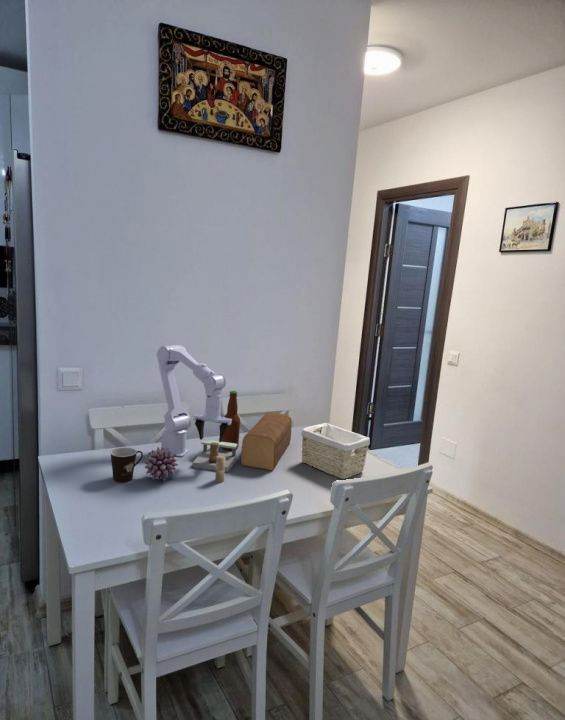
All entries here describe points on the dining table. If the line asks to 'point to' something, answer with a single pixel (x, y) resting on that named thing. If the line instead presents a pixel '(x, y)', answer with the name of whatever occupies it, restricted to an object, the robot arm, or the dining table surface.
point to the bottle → (233, 429)
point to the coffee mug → (123, 463)
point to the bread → (266, 441)
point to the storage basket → (334, 450)
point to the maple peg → (220, 468)
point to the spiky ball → (161, 463)
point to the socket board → (230, 459)
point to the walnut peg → (213, 452)
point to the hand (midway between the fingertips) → (211, 440)
